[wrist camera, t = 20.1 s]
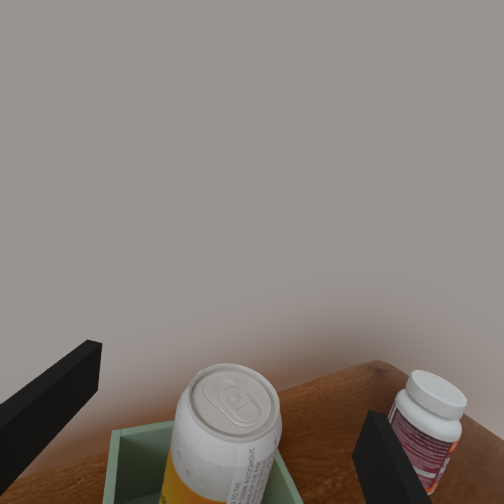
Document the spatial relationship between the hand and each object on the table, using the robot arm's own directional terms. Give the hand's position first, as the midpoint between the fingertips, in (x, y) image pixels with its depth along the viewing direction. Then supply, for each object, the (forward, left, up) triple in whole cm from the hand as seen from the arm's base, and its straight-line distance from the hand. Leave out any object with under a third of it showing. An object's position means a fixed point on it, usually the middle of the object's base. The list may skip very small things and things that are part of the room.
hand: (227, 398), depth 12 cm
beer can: (+1, +2, -17) cm, 17 cm away
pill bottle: (+26, +3, -17) cm, 31 cm away
